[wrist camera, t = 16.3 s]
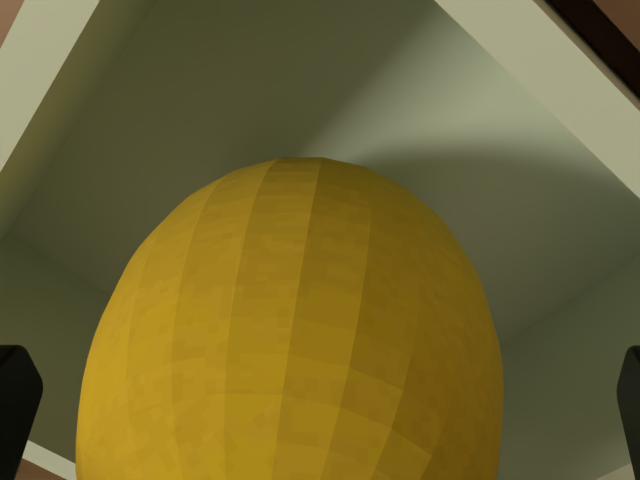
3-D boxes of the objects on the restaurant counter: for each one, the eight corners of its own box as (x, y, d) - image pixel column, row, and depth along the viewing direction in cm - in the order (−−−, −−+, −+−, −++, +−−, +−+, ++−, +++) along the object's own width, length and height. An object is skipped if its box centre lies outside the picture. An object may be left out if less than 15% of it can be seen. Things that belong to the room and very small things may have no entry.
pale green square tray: (735, 196, 12) (893, 375, 8) (354, 442, 17) (344, 614, 13) (283, -280, 8) (198, -348, 5) (-14, 218, 14) (-161, 369, 10)
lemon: (314, 366, 14) (253, 831, 7) (128, 205, 12) (-181, 637, 5) (522, 239, 12) (707, 744, 5) (334, 16, 10) (238, 361, 3)
